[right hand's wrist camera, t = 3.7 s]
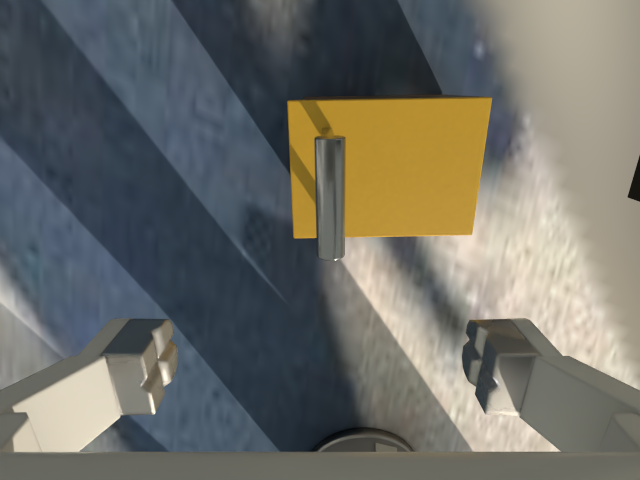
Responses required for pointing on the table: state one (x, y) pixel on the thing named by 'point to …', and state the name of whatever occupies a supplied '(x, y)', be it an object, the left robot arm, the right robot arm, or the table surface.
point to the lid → (385, 167)
